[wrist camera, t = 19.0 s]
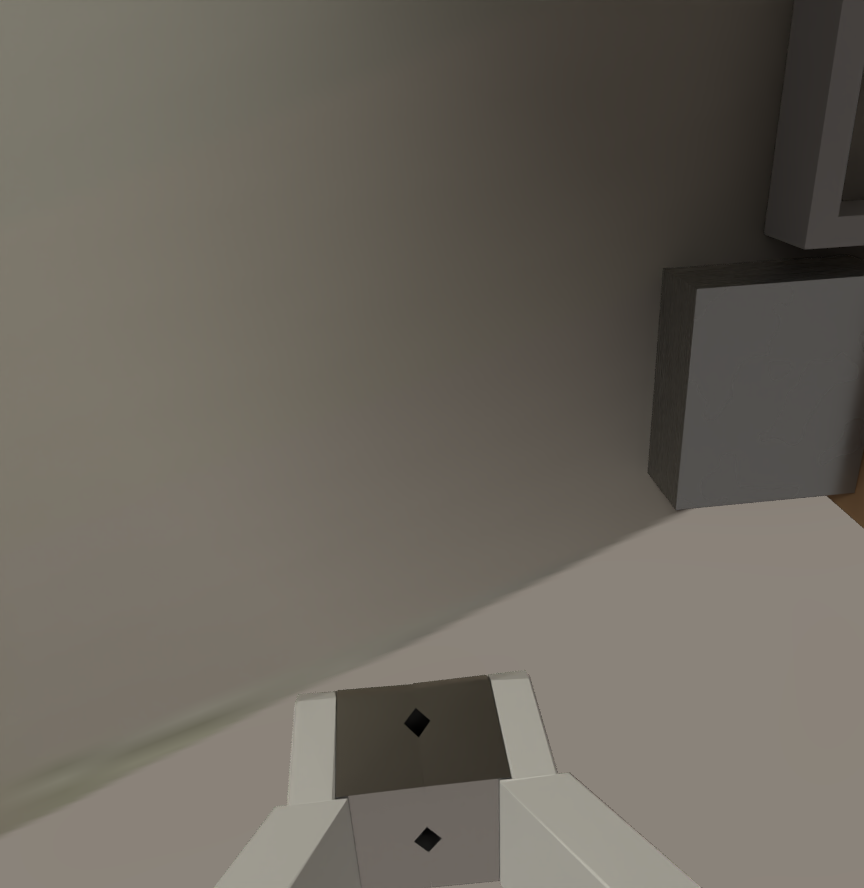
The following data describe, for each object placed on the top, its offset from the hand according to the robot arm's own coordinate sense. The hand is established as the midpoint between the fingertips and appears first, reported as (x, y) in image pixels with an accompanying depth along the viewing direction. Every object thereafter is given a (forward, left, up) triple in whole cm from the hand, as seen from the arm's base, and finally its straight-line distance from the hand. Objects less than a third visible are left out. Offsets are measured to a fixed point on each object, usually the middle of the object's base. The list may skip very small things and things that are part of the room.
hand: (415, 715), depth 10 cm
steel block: (0, +10, -12) cm, 16 cm away
